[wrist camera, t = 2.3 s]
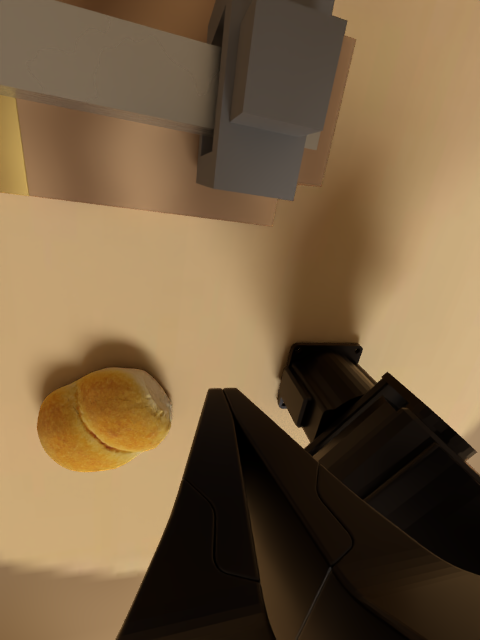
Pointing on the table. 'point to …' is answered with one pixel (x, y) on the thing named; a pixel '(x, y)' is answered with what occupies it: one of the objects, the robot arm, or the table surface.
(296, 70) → the grey stepped block
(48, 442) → the bread roll
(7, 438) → the table surface
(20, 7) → the brushed metal beam
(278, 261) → the table surface
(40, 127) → the stand
